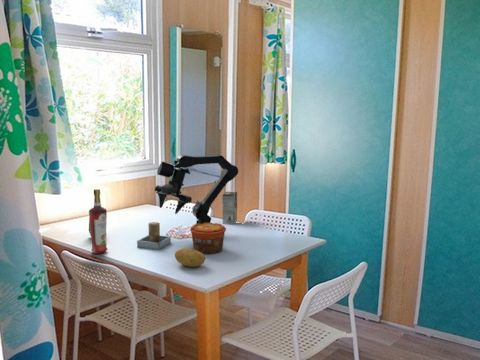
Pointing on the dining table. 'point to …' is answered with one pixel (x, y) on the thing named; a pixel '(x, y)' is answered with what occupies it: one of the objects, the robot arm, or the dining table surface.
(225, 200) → the coffee box
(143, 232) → the dining table surface
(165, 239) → the bin
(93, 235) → the liquor
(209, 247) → the food container
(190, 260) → the potato
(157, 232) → the walnut cylinder
